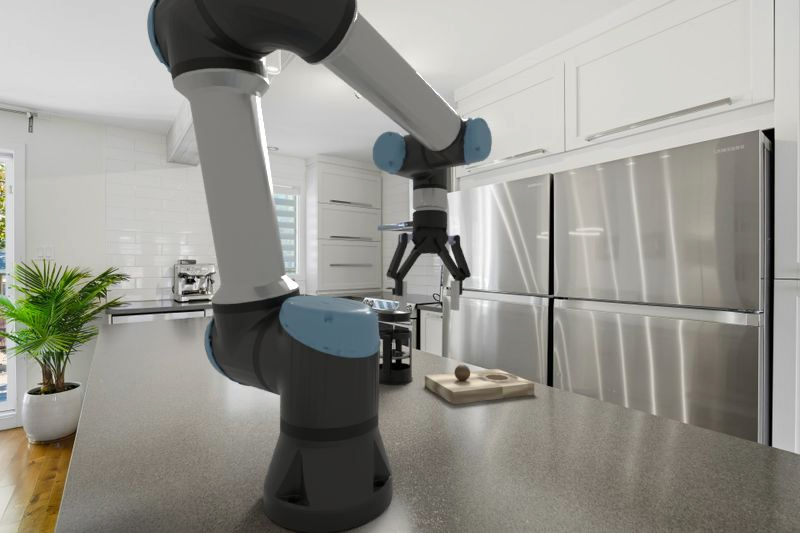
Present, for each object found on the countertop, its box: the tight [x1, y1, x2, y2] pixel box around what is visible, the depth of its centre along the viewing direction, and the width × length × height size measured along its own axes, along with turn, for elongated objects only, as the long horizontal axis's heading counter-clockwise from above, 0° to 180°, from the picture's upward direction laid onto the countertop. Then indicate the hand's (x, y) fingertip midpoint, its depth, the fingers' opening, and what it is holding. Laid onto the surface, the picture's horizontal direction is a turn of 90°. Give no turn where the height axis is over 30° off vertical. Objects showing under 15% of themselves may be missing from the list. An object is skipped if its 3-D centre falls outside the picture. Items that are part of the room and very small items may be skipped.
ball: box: [453, 364, 471, 381], centre depth 92 cm, size 4×4×4 cm
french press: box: [375, 286, 414, 386], centre depth 102 cm, size 12×9×23 cm
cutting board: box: [424, 368, 535, 405], centre depth 94 cm, size 14×20×2 cm
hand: (429, 310), depth 90 cm, fingers open, 12 cm apart
